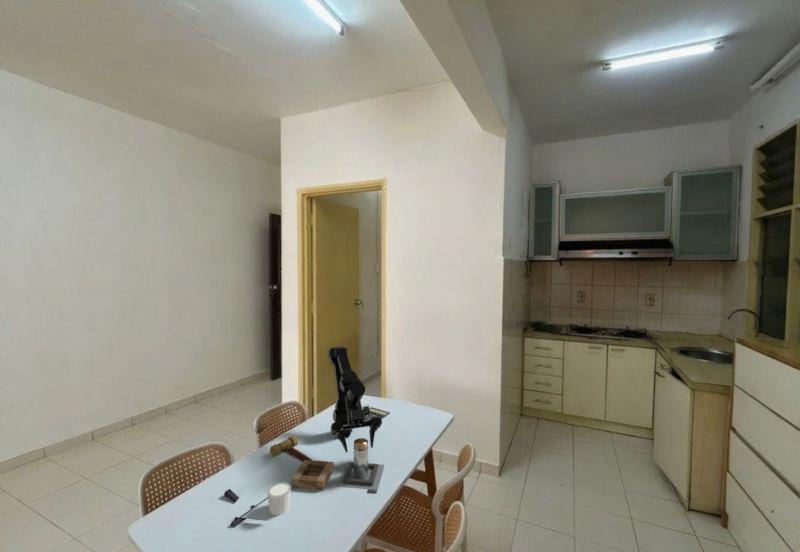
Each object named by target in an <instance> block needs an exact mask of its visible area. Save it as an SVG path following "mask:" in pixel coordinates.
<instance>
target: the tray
mask: <svg viewBox="0 0 800 552" xmlns="http://www.w3.org/2000/svg"><path fill="white" fill-rule="evenodd" d="M384 469H385V464H382V463H371V462H370V463H369V462H368V476H367V477H366V478H365V479H356V478H355V477H354V461H347V463H346V464H345V466H344V468H343V471H342V472H341V475H340V477H339V478H338V479H339V480H338V481H337V483H336V485H335V487H337V488H338V487H340V488H350V489H353V488H354V489H360V490H367V491H366V492H367V493H375V492H377V493H378V490H379V487H380V484H381V480H382V477H381V476H383V473H384ZM379 483H380V484H379Z"/></svg>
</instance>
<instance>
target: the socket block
mask: <svg viewBox="0 0 800 552" xmlns="http://www.w3.org/2000/svg"><path fill="white" fill-rule="evenodd" d="M334 468H335V462H334V461H326V460H325V461H324V460H313V459H312V460H304V461H302V463H301V464H300V466H299V468H297V470H296V472H295V473H294V475H293V476H292V477H291V489H301V490H314V491H324V490H325V488H326V486H327V484H328V483H329V480H330V479H331V476H332V474H333V473H334V470H335V469H334Z"/></svg>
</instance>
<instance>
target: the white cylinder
mask: <svg viewBox="0 0 800 552" xmlns="http://www.w3.org/2000/svg"><path fill="white" fill-rule="evenodd" d="M291 491H292V485H291V484H290V483H288V482H278V483H276V484H273V485H271V486H270V487H269V488H268V489H267V497H268V499H267V501H268V502H267V503H268V509H269V512H270V514H271V515H273V516H282V515H283V514H285V513H287V512H288V510H290V505H291V504H290V503H291Z"/></svg>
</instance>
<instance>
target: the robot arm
mask: <svg viewBox="0 0 800 552" xmlns="http://www.w3.org/2000/svg"><path fill="white" fill-rule="evenodd" d="M348 355H349V354H348V347H344V346H343V345H342V346H333V347H330V348H329V349H327V358H328V360H329V363H330V365H332V367H333V370H334V371H333V372H334V380H335V386H336V387H335V388H336V397H337V400H336V403H335V405H334V410H333V412H332V419H333V422H332V423H331V425H330V436H334V438H338V440H339V442H340V443H341V446H342V447H343V449H344V451H345V453H348V445H347V440H346V438H350V436H351V434H352V432H353V430H354V429H360V428H366V427H367V428H369V431H368V432H369V433H368V434H369V445H370V448H371V449H373V447H374V441H375V435H376V432H377V431H378V430H379V429H380V428H381V427H382V424H383V419H381V417H380V416H378V417H371V418H370V421H365V422H364V421H363V420H365V416H366V415H370V410H369V408H370V406H369V405H367V406H362V402H361V400H362V398H363V396H364V395H365V392H366V386H365V385H364V383H363V382H362V380H360V378H359V377H358V374H357V372H355V371H354V370H353V369H352V366H351V363H350V359H349V357H348Z"/></svg>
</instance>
